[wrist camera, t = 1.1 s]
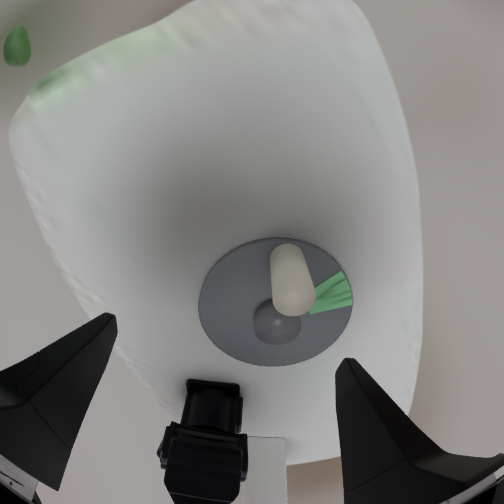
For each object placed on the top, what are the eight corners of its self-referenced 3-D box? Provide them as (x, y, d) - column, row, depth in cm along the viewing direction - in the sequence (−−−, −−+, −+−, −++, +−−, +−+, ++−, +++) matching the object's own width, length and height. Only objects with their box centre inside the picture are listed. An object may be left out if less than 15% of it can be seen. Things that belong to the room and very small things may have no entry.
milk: (248, 435, 36) (242, 556, 16) (285, 437, 36) (289, 555, 16) (244, 448, 39) (238, 555, 19) (277, 450, 39) (279, 555, 19)
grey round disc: (202, 354, 28) (201, 361, 26) (198, 231, 22) (196, 236, 21) (330, 360, 28) (331, 368, 27) (366, 245, 22) (370, 251, 21)
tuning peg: (295, 334, 24) (302, 382, 19) (252, 332, 24) (250, 381, 19) (313, 242, 21) (331, 282, 15) (261, 238, 20) (262, 277, 15)
